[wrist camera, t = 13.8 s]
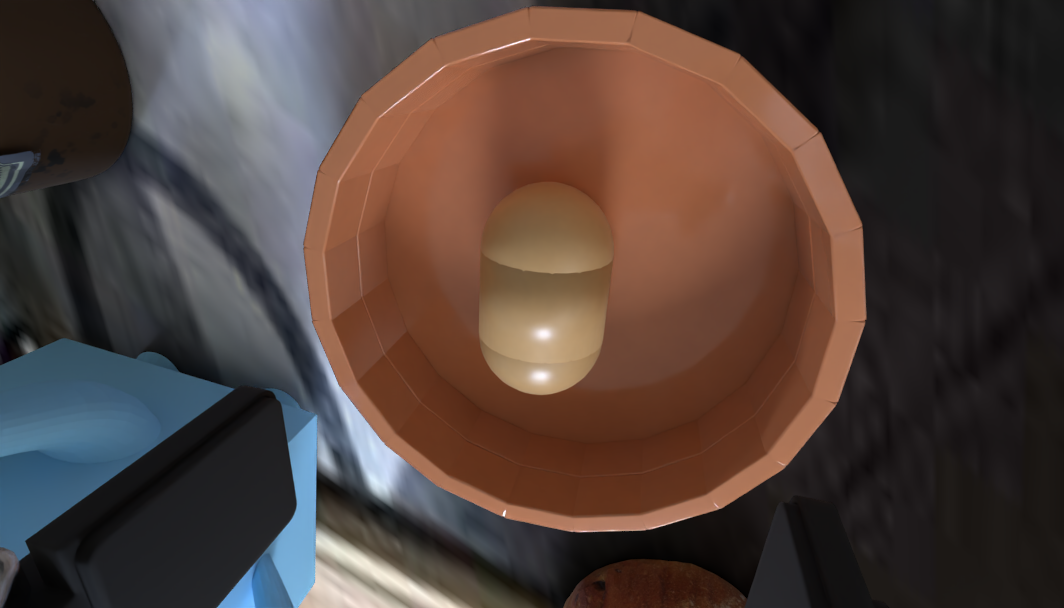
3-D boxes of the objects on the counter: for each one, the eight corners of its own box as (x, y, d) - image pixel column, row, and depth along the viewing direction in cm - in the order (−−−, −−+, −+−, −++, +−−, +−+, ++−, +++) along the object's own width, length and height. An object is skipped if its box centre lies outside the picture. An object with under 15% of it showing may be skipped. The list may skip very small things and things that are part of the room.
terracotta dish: (885, 38, 16) (971, 24, 12) (755, 481, 24) (778, 576, 19) (360, 12, 19) (270, -6, 15) (385, 412, 27) (330, 481, 22)
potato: (528, 165, 20) (452, 182, 17) (642, 184, 18) (584, 207, 15) (518, 344, 24) (452, 391, 20) (615, 378, 22) (561, 437, 18)
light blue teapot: (437, 511, 29) (248, 887, 15) (231, 598, 36) (-20, 907, 22) (192, 216, 25) (-349, 379, 11) (15, 381, 32) (-444, 599, 18)
